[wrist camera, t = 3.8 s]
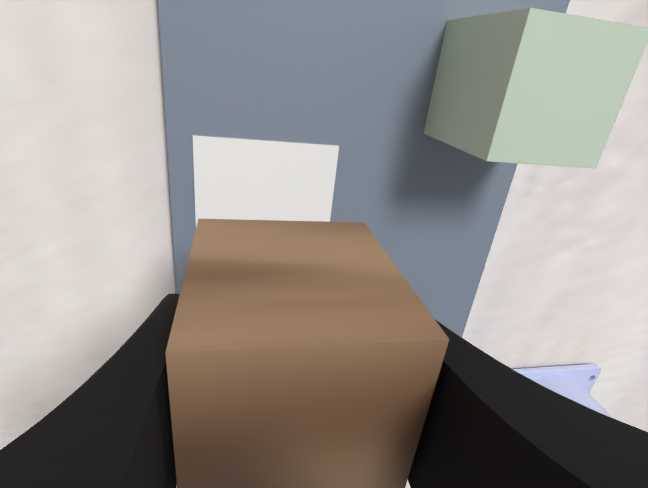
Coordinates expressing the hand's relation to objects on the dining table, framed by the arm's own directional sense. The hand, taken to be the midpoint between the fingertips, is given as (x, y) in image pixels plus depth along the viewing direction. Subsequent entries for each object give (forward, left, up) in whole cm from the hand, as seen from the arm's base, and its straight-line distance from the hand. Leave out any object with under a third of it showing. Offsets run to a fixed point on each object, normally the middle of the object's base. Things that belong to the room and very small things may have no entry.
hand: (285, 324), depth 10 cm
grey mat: (0, -4, -9) cm, 10 cm away
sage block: (+6, -9, -8) cm, 14 cm away
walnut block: (0, 0, -2) cm, 2 cm away
